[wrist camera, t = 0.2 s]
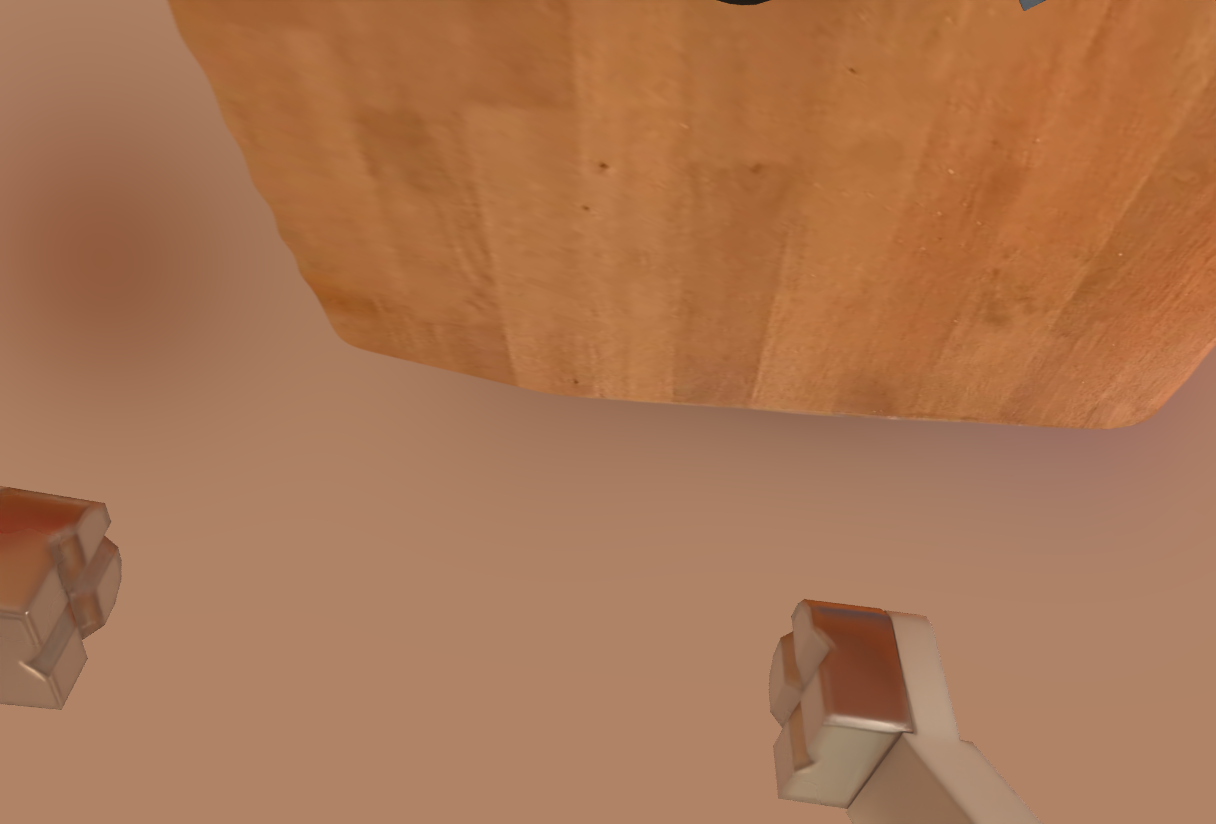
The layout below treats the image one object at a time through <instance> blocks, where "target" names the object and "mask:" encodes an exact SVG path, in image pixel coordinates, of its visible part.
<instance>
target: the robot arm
mask: <svg viewBox="0 0 1216 824" xmlns="http://www.w3.org/2000/svg"><path fill="white" fill-rule="evenodd" d="M110 523H111V520H110V517H109V514H108V511H107V508H106V505H105V503H101V502H95V501H89V500H83V499H77V498H71V497H64V496H58V495H52V494H46V493H39V492H34V491H28V490H21V489H15V488H10V487H3V486H0V704H7V705H18V706H29V707H38V708H48V709H59V710H61V709H62V708H63V706H64V704H65V702H66V700H67V698H68V696H69V694H70V692H71V690H72V688H73V686H74V684H75V682H76V680H77V678H78V677H79V675H80V673H81V671H82V669H83V667H84V665H85V663H86V661H87V659H88V658H87V655H86V651H85V648H84V645H83V641H82V640H83V639H84V638H86V637H87V636H89V635H91V634H92V633H94V632H95V631H96V630H98V629H100V628H101V627H102V626H104V625H105V623H106V621H107V619H108V617H109V615H110V613H111V611H112V609H113V607H114V604H115V602H116V598H117V594H118V590H119V586H120V582H121V557H120V553H119V549H118V547H117V546H116V545H115V544H114V543H112V542H111V541H110V540H109V539H108V538H107V537H105V536H104V534H105V532H106V531H107V529H108V527H109V525H110ZM791 617H792V626H793V632H791V633H789V634H787V635H785V636H783V637H781V638H780V641H779V643H778V645H777V648H776V650H775V652H774V655H773V660H772V665H771V670H770V679H769V681H770V682H769V699H770V712H771V713H772V715H773V716H774V717H775V719H776V720H777V721H778V723H779V724H780V725H781V727H782V728H783V729H782V731H781V733H780V735H779V737H778V739H777V741H776V742H775V744H774V746H773V747H774V758H775V768H776V779H777V790H778V798H780V799H786V800H793V801H799V802H806V803H812V804H819V805H826V806H833V807H839V808H846V809H847V811H846V813H847V815H848V817H849V818H850V820H851V822H852V823H853V824H1042V823H1041V822H1040V820H1039V819H1038V818H1037V817H1036V816H1035V815H1034V814H1033V812H1032V811H1031V810H1030V809H1029V808H1028V806H1027V805H1026V804H1025V803H1024V802H1023V801H1022V799H1021V798H1020V797H1019V796H1018V795H1017V794H1016V792H1015V791H1014V790H1013V789H1012V788H1011V787H1010V785H1009V784H1008V783H1007V782H1006V781H1005V780H1004V778H1003V777H1002V776H1001V775H1000V774H999V773H998V772H997V770H996V769H995V768H994V767H993V766H992V764H991V763H990V762H989V761H988V760H987V759H986V757H985V756H984V755H983V754H982V753H981V752H980V750H979V749H978V748H977V747H976V746H975V745H974V743H973V742H969V741H963V740H960V737H959V733H958V729H957V725H956V720H955V717H954V712H953V708H952V704H951V700H950V696H949V692H948V688H947V684H946V680H945V676H944V672H943V668H942V664H941V660H940V656H939V652H938V647H937V644H936V640H935V635H934V631H933V627H932V624H931V623H930V621H929V620H928V619H927V617H926V616H921V615H916V614H908V613H900V612H892V611H883V610H882V609H879V608H870V607H863V606H855V605H846V604H839V603H831V602H822V601H814V600H807V599H804V600H802V601H801V602H800V603H798V605H797V607H796V608H795V610H794V612H793V614H792V616H791Z"/></svg>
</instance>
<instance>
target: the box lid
mask: <svg viewBox="0 0 1216 824" xmlns="http://www.w3.org/2000/svg"><path fill="white" fill-rule="evenodd" d="M1043 1H1045V0H1019V2H1020V4H1021V6H1022V8H1023V10H1024V11H1025V10H1027V9H1029V8H1031V7H1033V6H1035V5H1037V4H1039V3H1041V2H1043Z"/></svg>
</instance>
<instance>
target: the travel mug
mask: <svg viewBox="0 0 1216 824" xmlns="http://www.w3.org/2000/svg"><path fill="white" fill-rule="evenodd" d="M718 1H721V2H725V3H728V4H737V5H756V4H760V3H763V2H766V1H770V0H718Z"/></svg>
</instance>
